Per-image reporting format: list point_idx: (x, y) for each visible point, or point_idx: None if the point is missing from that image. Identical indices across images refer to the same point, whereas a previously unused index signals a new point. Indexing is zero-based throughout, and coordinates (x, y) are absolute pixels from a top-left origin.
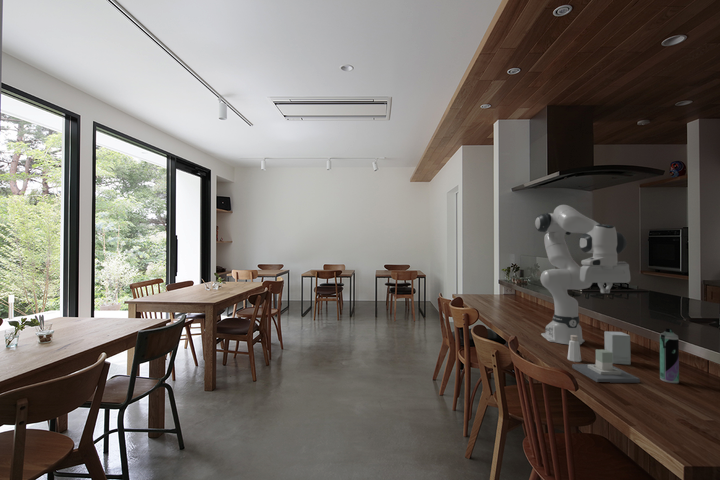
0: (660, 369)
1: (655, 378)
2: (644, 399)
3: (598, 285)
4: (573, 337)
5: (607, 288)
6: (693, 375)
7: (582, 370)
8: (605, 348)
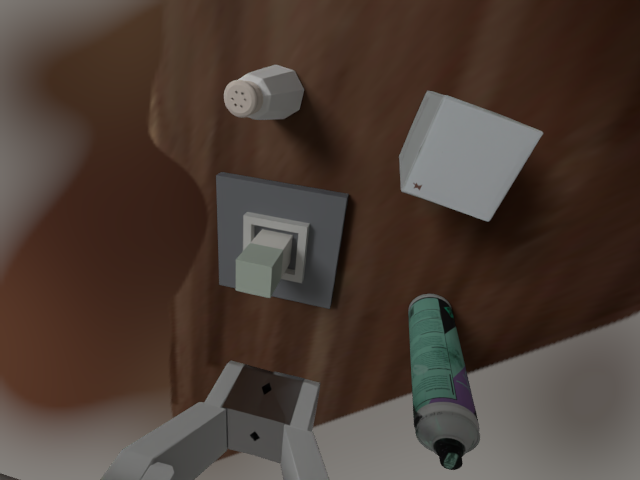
0: (413, 319)
1: (406, 291)
2: (261, 360)
3: (140, 444)
4: (231, 109)
5: (284, 456)
6: (563, 301)
7: (218, 226)
8: (426, 103)
